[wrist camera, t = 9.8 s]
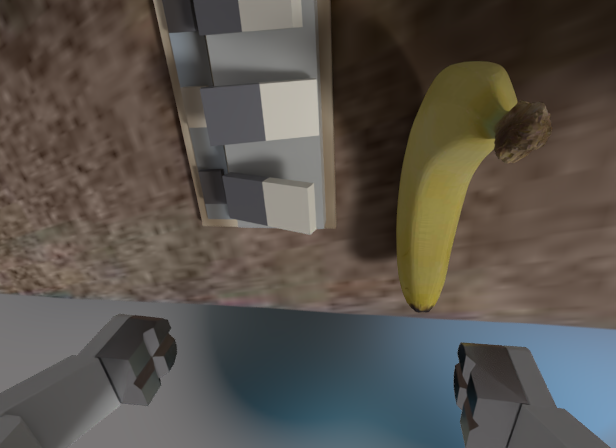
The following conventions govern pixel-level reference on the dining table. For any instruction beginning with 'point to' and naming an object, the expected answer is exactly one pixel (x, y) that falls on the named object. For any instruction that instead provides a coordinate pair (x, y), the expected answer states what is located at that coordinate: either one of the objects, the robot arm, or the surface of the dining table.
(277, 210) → the rocker
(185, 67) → the switch board
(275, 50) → the switch housing
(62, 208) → the dining table surface
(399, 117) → the dining table surface
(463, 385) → the robot arm
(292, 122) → the rocker
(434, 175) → the banana
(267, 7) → the block
